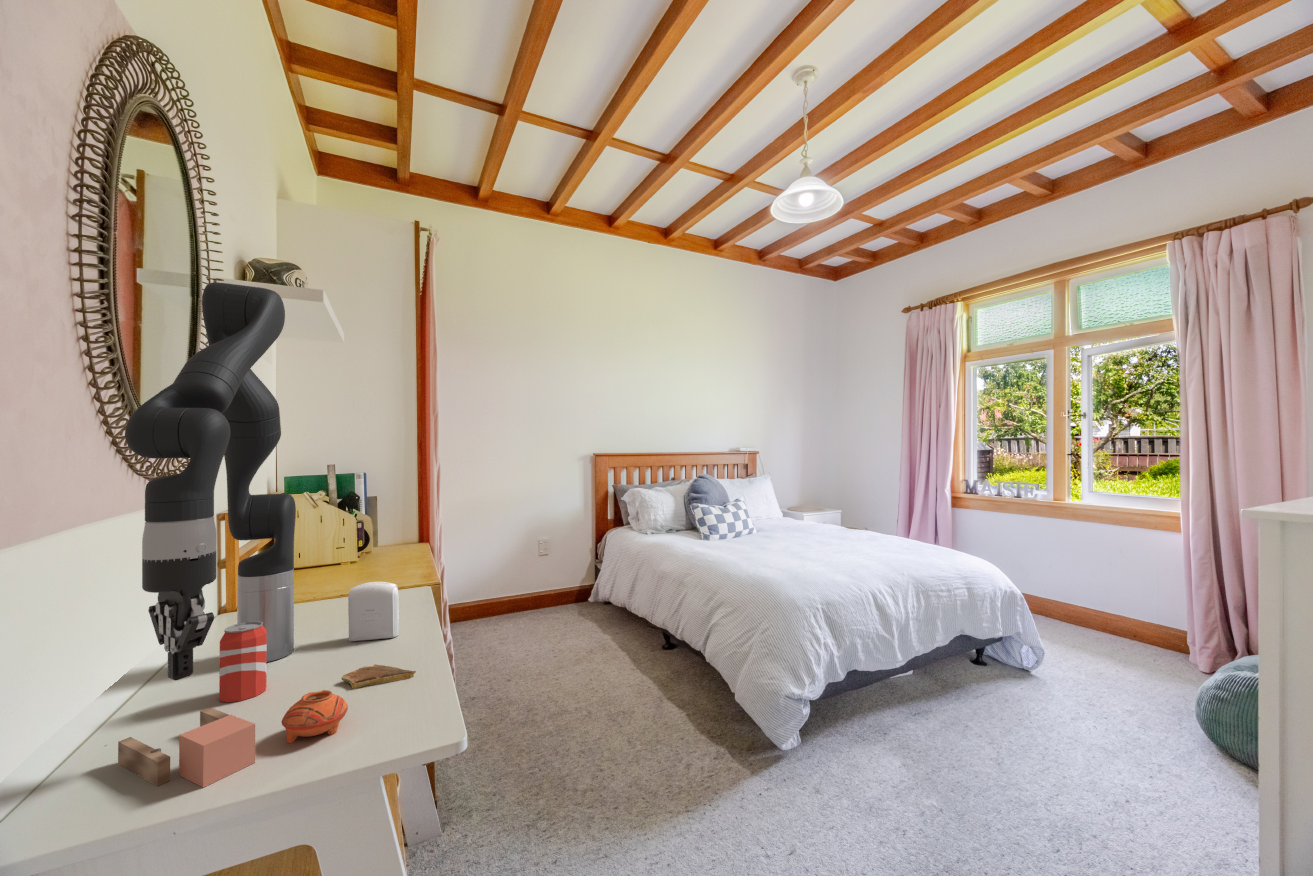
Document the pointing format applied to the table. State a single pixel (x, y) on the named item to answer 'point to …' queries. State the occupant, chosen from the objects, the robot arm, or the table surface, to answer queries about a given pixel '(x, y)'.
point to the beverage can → (243, 662)
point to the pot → (314, 715)
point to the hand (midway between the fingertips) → (180, 677)
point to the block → (216, 750)
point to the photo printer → (373, 611)
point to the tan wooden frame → (154, 754)
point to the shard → (376, 675)
